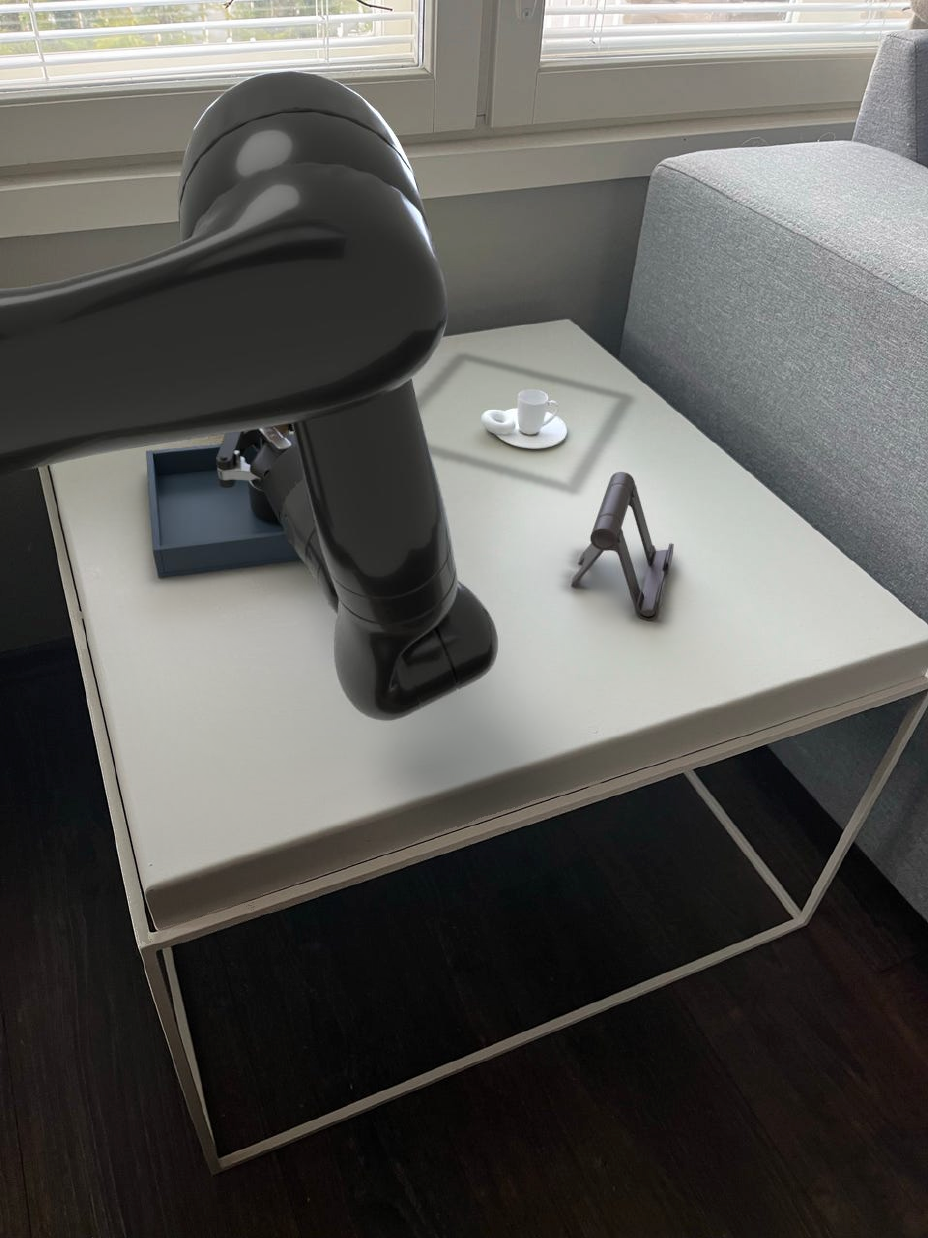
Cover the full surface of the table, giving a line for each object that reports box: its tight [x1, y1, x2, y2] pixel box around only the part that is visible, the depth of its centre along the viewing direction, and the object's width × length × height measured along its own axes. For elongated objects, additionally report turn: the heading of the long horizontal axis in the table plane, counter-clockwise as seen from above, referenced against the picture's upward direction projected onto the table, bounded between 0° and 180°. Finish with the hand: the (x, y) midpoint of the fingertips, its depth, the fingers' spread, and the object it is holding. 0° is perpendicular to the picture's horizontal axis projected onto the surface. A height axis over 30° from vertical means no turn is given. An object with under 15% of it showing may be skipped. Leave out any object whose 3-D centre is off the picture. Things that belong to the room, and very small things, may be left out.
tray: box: [145, 443, 303, 579], centre depth 88 cm, size 19×15×3 cm
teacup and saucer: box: [480, 388, 568, 450], centre depth 101 cm, size 9×8×4 cm
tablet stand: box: [570, 471, 675, 622], centre depth 82 cm, size 9×8×8 cm
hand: (263, 402), depth 85 cm, fingers closed on brush, 2 cm apart
